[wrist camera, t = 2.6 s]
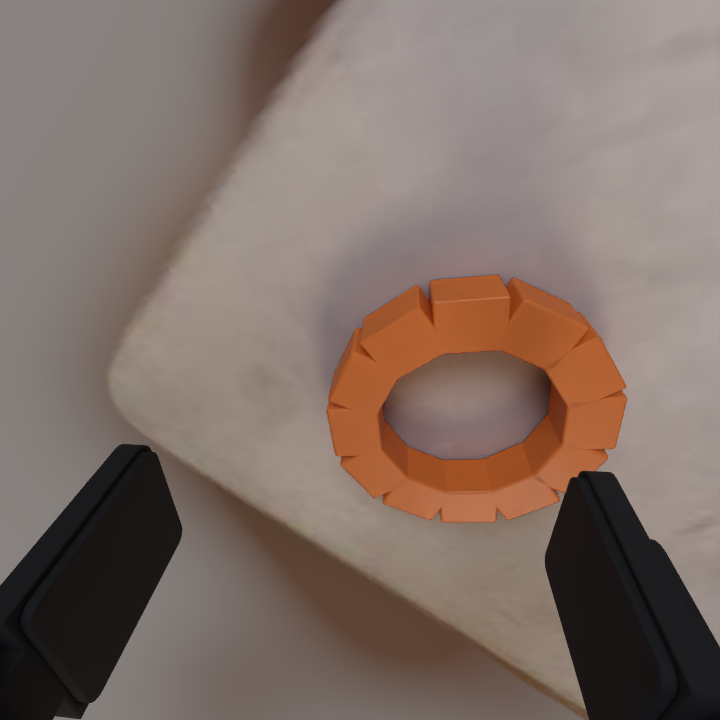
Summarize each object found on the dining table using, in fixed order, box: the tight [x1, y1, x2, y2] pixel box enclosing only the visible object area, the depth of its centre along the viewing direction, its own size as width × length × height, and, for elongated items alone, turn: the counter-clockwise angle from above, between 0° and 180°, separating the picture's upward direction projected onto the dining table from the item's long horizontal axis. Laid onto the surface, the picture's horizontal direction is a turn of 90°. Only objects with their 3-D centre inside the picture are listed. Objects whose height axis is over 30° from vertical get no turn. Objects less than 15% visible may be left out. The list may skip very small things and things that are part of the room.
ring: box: [327, 275, 627, 522], centre depth 12 cm, size 8×8×1 cm
